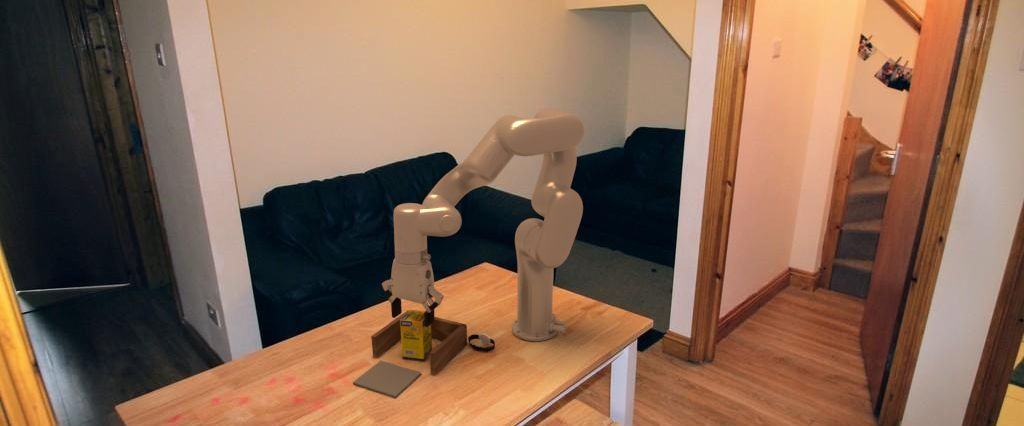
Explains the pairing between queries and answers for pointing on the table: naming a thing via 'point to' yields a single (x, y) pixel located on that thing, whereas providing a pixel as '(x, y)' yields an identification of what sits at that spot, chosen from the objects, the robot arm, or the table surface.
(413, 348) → the supplement box
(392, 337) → the open box
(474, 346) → the watch
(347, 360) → the table surface
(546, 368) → the table surface
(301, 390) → the table surface
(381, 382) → the mat
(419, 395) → the table surface
